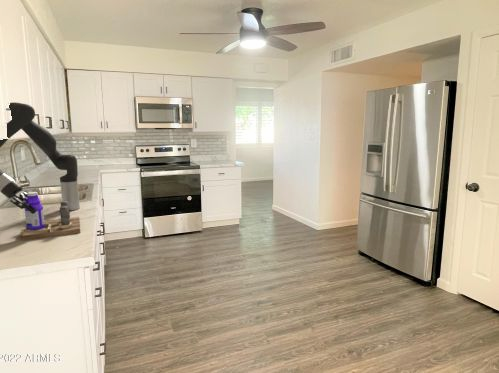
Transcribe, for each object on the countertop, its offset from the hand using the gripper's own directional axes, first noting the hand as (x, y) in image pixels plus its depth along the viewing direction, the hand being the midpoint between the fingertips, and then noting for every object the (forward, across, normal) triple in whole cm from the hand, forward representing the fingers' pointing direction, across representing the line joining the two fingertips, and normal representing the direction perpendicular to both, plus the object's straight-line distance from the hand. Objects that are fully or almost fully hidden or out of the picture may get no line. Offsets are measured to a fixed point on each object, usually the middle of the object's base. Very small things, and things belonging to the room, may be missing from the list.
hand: (38, 210), depth 156 cm
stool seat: (+10, +8, +7) cm, 14 cm away
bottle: (+5, 0, +8) cm, 9 cm away
